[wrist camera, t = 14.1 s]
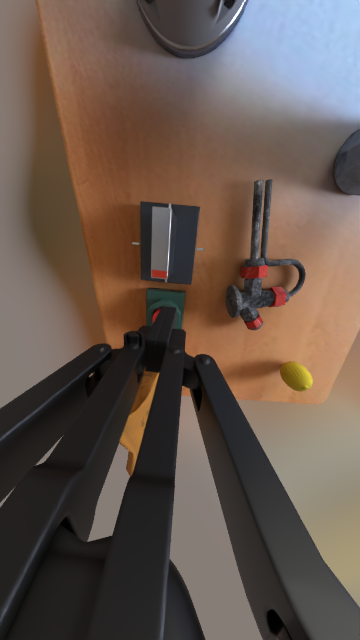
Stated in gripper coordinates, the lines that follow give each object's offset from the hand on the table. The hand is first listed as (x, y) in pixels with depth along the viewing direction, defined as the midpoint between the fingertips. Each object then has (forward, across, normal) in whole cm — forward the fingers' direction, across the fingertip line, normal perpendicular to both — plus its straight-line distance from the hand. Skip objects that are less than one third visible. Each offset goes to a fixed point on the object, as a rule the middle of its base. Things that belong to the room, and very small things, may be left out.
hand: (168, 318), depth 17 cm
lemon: (+20, +28, -18) cm, 39 cm away
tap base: (+20, -3, +6) cm, 21 cm away
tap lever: (+17, -3, +7) cm, 19 cm away
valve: (+20, +16, +5) cm, 26 cm away
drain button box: (+19, -3, -7) cm, 21 cm away
